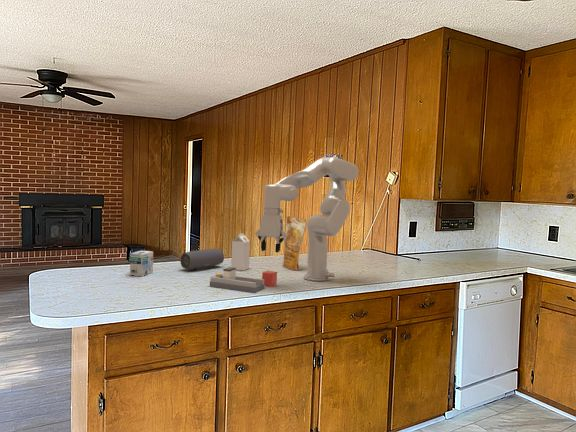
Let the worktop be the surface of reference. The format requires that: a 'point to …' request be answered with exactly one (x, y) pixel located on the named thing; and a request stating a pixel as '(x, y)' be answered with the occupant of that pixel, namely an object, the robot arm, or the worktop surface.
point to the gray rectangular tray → (237, 283)
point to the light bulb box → (141, 263)
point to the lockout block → (269, 278)
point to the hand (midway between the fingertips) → (270, 251)
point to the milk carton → (240, 252)
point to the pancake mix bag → (293, 242)
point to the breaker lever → (229, 273)
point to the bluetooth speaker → (201, 259)
